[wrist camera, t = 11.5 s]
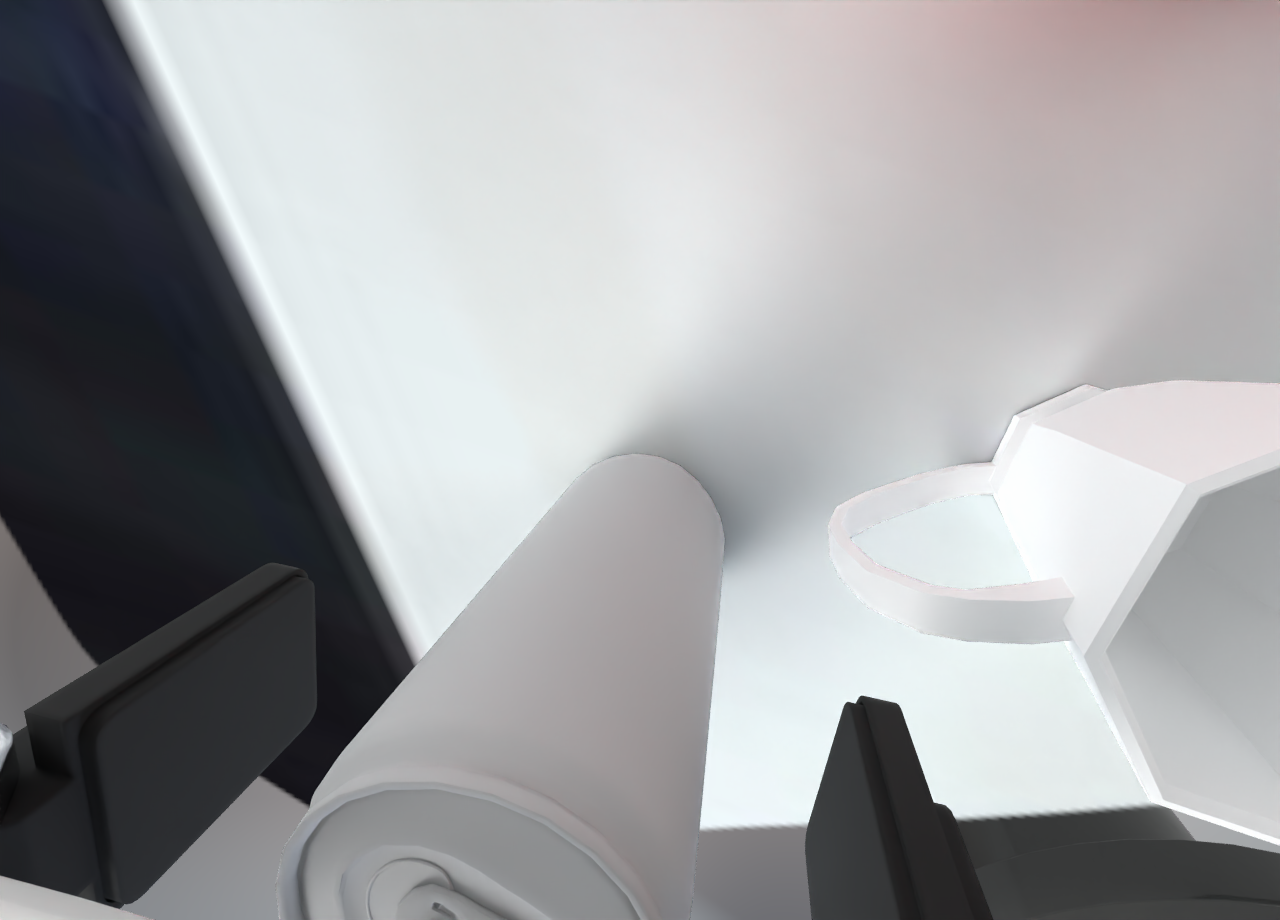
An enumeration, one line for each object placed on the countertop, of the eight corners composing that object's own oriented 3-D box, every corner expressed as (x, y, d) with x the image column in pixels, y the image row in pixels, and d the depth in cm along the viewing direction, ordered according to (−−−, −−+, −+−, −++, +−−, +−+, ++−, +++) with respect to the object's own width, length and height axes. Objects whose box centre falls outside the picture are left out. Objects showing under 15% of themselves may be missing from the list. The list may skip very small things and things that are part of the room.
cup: (1225, 592, 16) (1663, 887, 8) (819, 603, 18) (869, 847, 10) (1263, 311, 14) (1876, 354, 6) (806, 357, 16) (855, 432, 8)
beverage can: (606, 416, 17) (335, 686, 6) (758, 500, 17) (775, 933, 6) (537, 552, 19) (219, 967, 8) (676, 629, 19) (565, 1164, 8)
